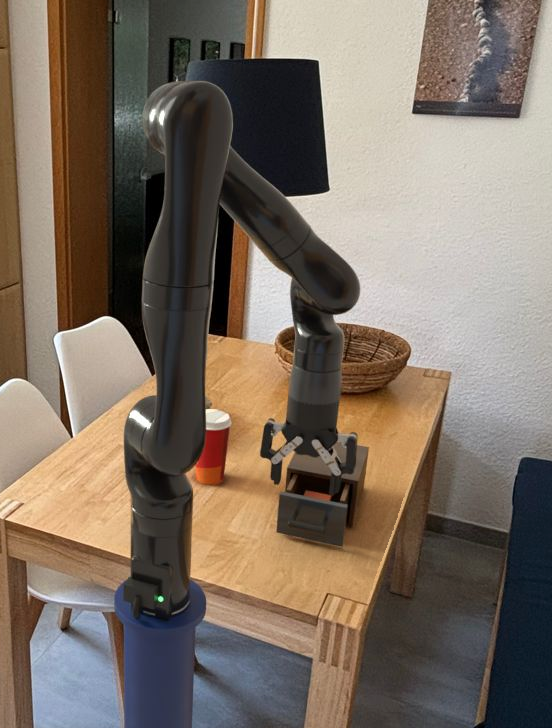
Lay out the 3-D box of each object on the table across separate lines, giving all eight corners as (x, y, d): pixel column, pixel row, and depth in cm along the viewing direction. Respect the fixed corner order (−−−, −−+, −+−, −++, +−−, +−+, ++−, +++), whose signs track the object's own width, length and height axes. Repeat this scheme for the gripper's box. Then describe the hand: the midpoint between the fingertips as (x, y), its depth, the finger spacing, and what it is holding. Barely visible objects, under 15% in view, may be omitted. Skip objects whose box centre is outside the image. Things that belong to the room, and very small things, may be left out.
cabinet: (352, 527, 139) (358, 481, 136) (283, 513, 144) (286, 467, 141) (363, 490, 152) (369, 447, 148) (299, 478, 157) (303, 435, 153)
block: (324, 530, 135) (327, 507, 133) (298, 524, 137) (300, 502, 135) (329, 517, 139) (331, 495, 137) (303, 512, 141) (305, 490, 139)
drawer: (337, 562, 128) (342, 521, 125) (269, 546, 133) (272, 507, 130) (353, 509, 144) (358, 472, 141) (292, 497, 148) (295, 461, 145)
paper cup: (209, 465, 162) (211, 404, 157) (236, 479, 156) (240, 416, 151) (182, 477, 157) (184, 415, 152) (209, 492, 152) (212, 427, 147)
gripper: (261, 394, 115) (253, 489, 121) (360, 409, 109) (347, 509, 115) (272, 377, 121) (265, 469, 127) (366, 391, 116) (354, 486, 122)
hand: (304, 488), depth 121 cm, fingers open, 8 cm apart
